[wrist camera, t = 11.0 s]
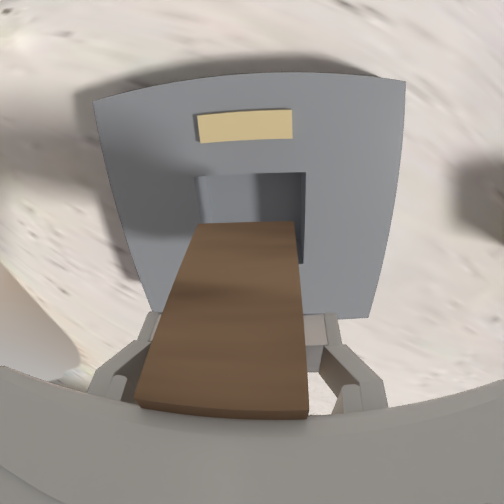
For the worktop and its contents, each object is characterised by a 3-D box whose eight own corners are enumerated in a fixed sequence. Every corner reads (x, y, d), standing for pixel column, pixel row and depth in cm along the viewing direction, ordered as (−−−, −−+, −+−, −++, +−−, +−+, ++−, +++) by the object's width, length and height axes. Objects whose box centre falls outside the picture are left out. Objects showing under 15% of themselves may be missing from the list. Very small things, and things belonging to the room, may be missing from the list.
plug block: (292, 293, 16) (297, 455, 9) (211, 293, 17) (177, 448, 9) (293, 221, 14) (309, 410, 6) (197, 223, 14) (132, 397, 7)
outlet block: (358, 285, 26) (369, 320, 23) (167, 287, 28) (154, 321, 24) (381, 77, 16) (408, 81, 12) (121, 93, 17) (90, 102, 14)
